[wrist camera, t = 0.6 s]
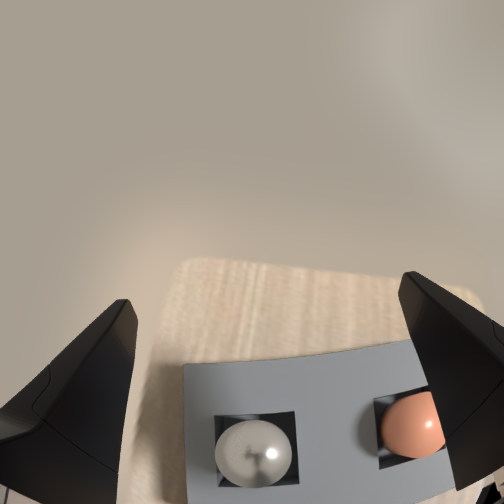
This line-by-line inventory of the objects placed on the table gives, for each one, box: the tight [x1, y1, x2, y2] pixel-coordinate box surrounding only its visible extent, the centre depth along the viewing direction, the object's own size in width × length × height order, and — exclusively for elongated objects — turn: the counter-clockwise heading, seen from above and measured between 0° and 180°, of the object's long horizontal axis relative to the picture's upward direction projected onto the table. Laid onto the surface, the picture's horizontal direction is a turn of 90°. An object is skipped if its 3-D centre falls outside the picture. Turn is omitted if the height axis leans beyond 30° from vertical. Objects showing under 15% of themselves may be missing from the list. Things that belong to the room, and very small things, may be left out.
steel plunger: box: [215, 420, 292, 488], centre depth 15 cm, size 4×4×3 cm
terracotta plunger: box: [378, 392, 446, 458], centre depth 14 cm, size 4×4×3 cm
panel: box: [183, 339, 455, 504], centre depth 17 cm, size 12×19×4 cm, turn 93°
